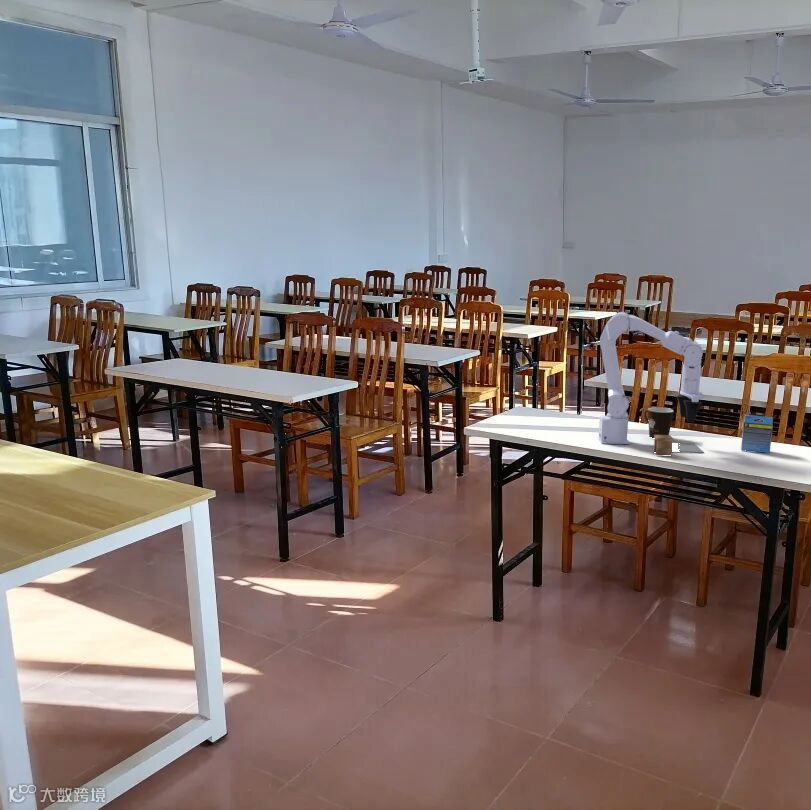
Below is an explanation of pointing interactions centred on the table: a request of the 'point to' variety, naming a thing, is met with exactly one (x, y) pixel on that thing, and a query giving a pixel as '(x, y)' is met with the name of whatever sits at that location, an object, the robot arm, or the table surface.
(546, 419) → the table surface
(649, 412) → the coffee mug
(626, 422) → the robot arm
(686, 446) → the mat
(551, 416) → the table surface
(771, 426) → the label tape box
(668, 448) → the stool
